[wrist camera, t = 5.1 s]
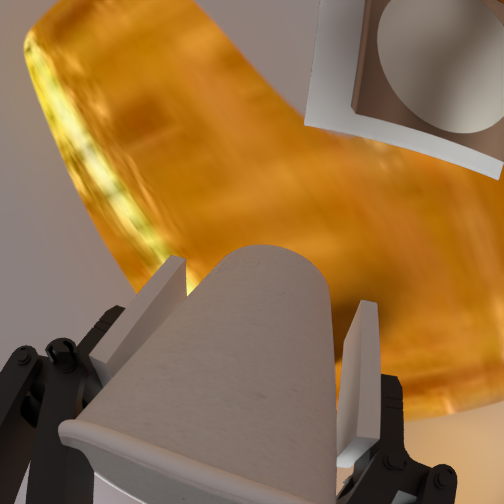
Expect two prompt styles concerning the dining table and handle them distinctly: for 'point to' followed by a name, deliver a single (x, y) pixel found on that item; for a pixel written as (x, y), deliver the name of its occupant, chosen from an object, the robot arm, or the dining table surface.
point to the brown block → (435, 69)
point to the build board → (341, 90)
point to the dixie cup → (225, 393)
